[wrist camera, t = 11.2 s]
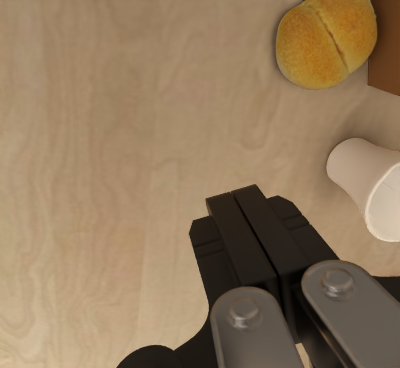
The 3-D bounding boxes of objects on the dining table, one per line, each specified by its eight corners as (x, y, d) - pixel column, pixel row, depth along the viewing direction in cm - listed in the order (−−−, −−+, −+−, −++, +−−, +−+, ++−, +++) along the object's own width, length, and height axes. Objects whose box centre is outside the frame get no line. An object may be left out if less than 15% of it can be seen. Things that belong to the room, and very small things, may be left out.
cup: (345, 207, 42) (402, 261, 34) (296, 165, 38) (347, 213, 30) (403, 152, 40) (480, 194, 32) (358, 101, 36) (432, 132, 28)
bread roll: (256, 32, 31) (272, 36, 28) (342, -35, 30) (371, -40, 27) (297, 105, 35) (316, 117, 32) (375, 48, 34) (404, 53, 31)
